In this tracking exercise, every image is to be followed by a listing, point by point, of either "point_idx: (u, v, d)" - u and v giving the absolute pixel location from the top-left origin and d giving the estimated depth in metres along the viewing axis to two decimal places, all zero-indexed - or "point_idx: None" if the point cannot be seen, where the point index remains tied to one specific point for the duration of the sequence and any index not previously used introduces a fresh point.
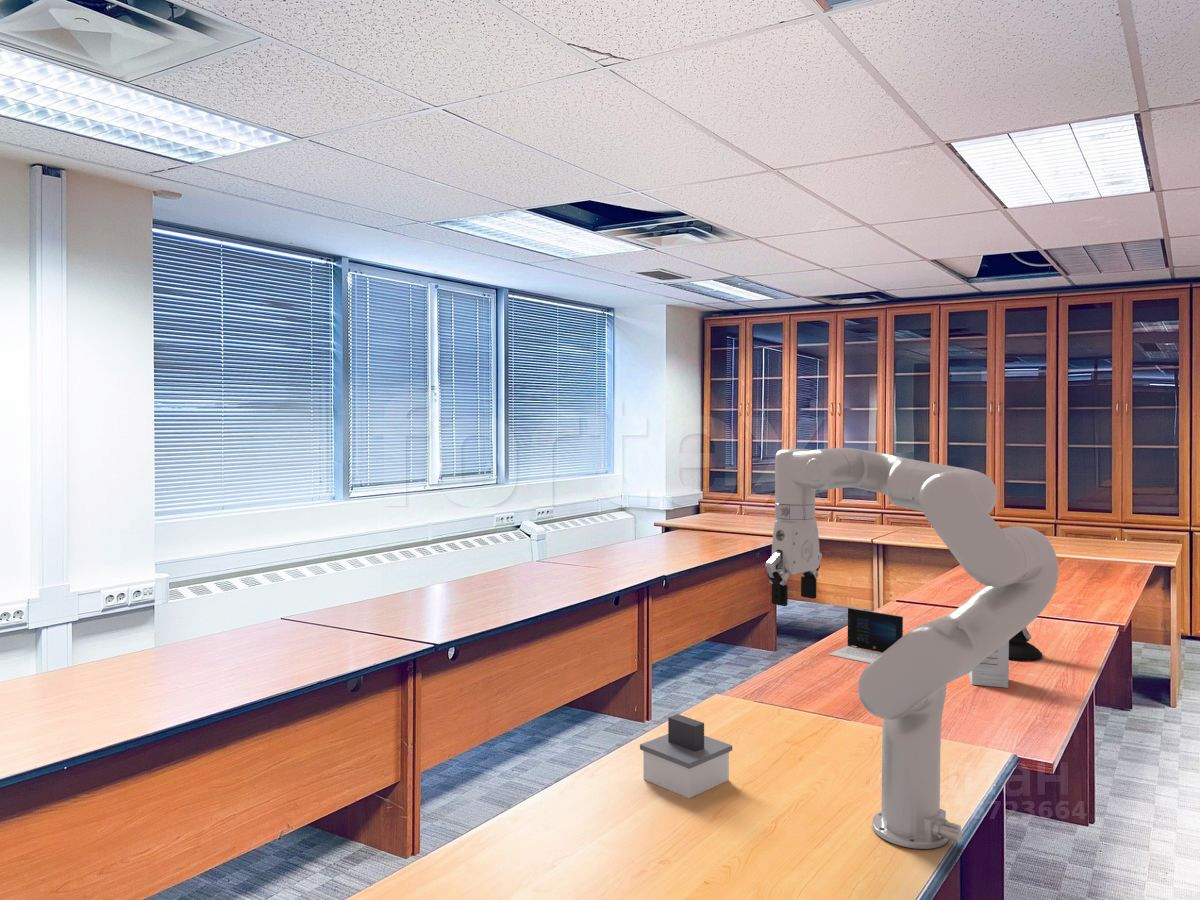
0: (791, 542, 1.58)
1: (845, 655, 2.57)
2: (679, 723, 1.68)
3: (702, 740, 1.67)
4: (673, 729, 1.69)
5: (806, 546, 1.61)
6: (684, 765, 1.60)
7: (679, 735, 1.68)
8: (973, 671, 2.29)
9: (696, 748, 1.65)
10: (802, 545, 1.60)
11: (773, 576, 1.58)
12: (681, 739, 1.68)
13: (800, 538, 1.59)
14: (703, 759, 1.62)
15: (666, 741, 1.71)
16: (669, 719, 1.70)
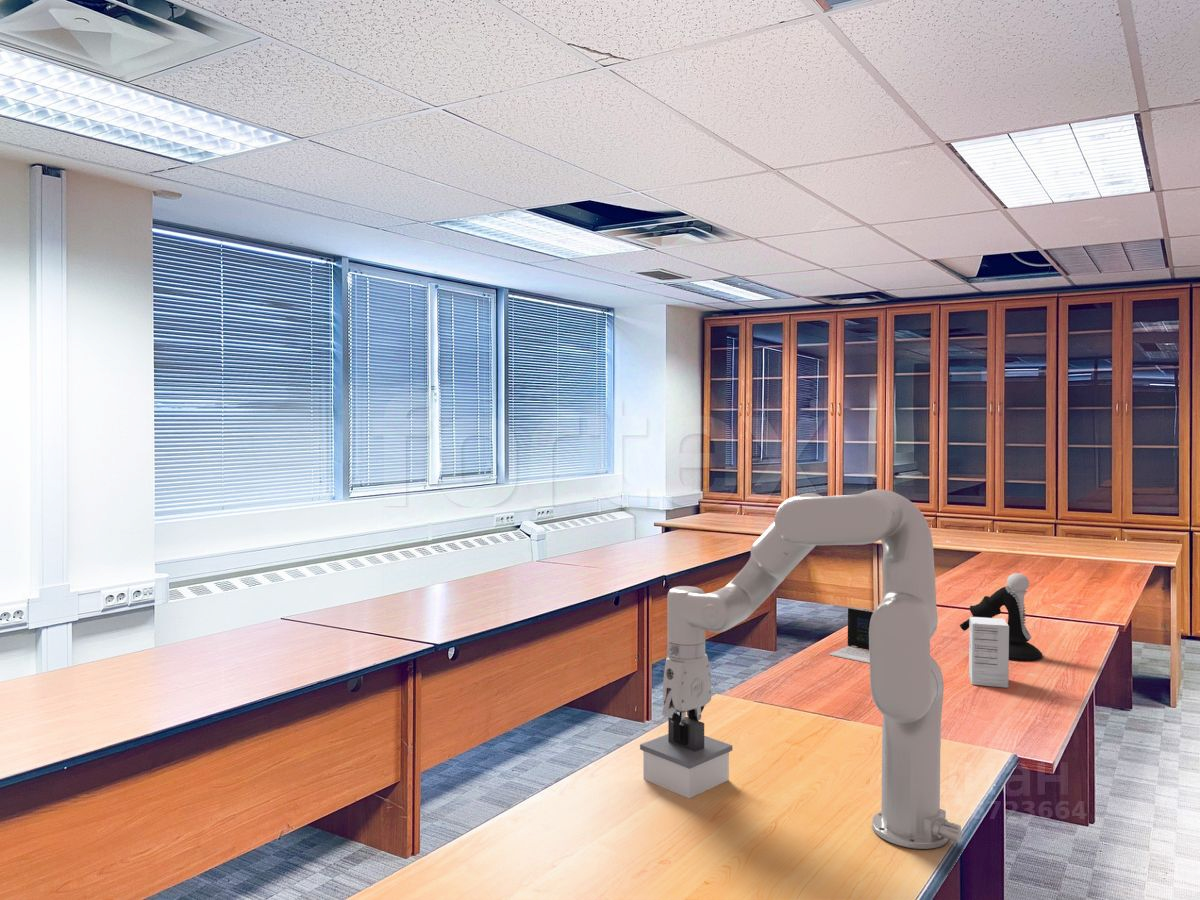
0: (679, 682, 1.63)
1: (845, 655, 2.57)
2: None
3: (702, 740, 1.67)
4: None
5: (696, 683, 1.66)
6: (684, 765, 1.60)
7: None
8: (973, 671, 2.29)
9: (696, 748, 1.65)
10: (691, 683, 1.65)
11: (673, 718, 1.65)
12: None
13: (689, 677, 1.65)
14: (703, 759, 1.62)
15: (666, 741, 1.70)
16: (669, 719, 1.70)
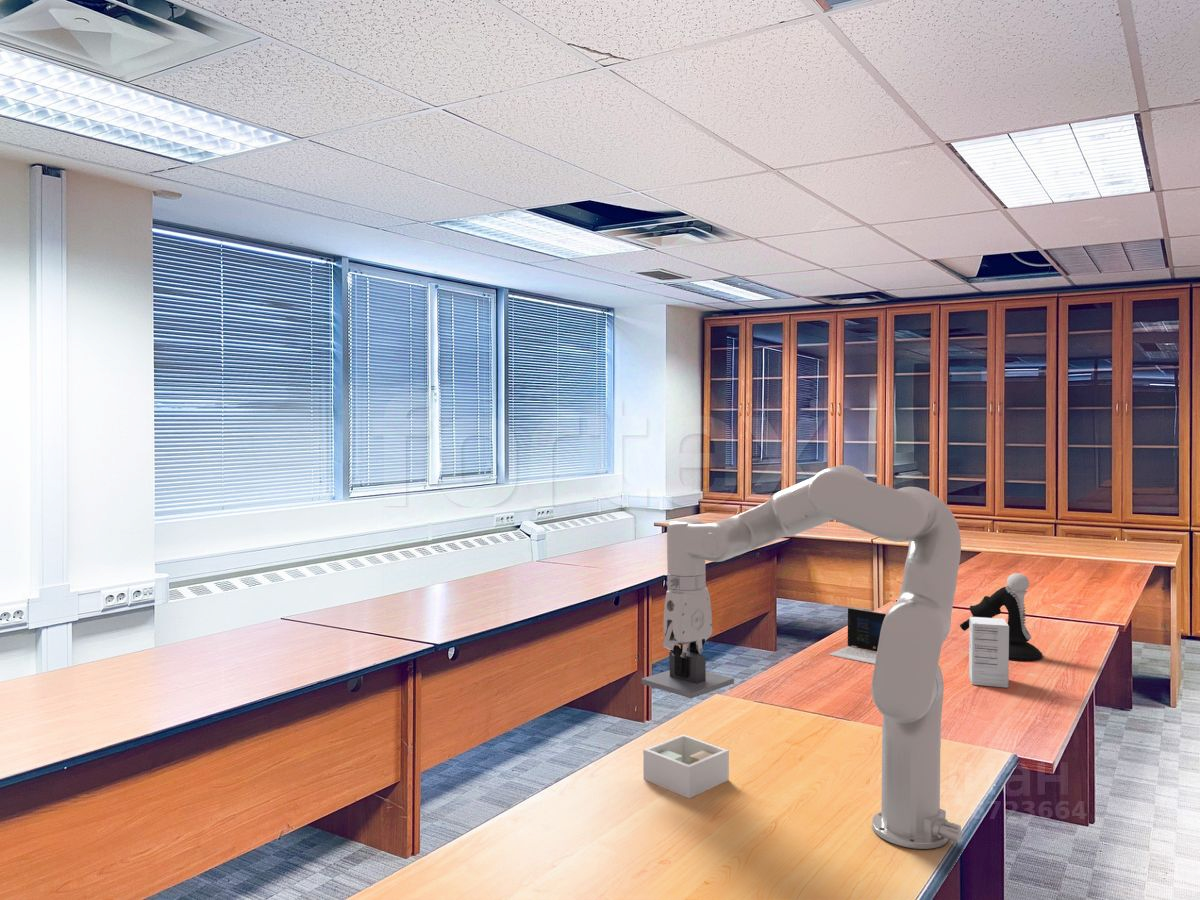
0: (680, 613, 1.63)
1: (845, 655, 2.57)
2: None
3: (703, 673, 1.66)
4: (674, 663, 1.69)
5: (696, 615, 1.66)
6: (686, 695, 1.60)
7: None
8: (973, 671, 2.29)
9: (697, 680, 1.65)
10: (692, 614, 1.65)
11: (674, 650, 1.64)
12: None
13: (690, 608, 1.64)
14: (705, 690, 1.62)
15: (667, 676, 1.70)
16: (670, 653, 1.69)
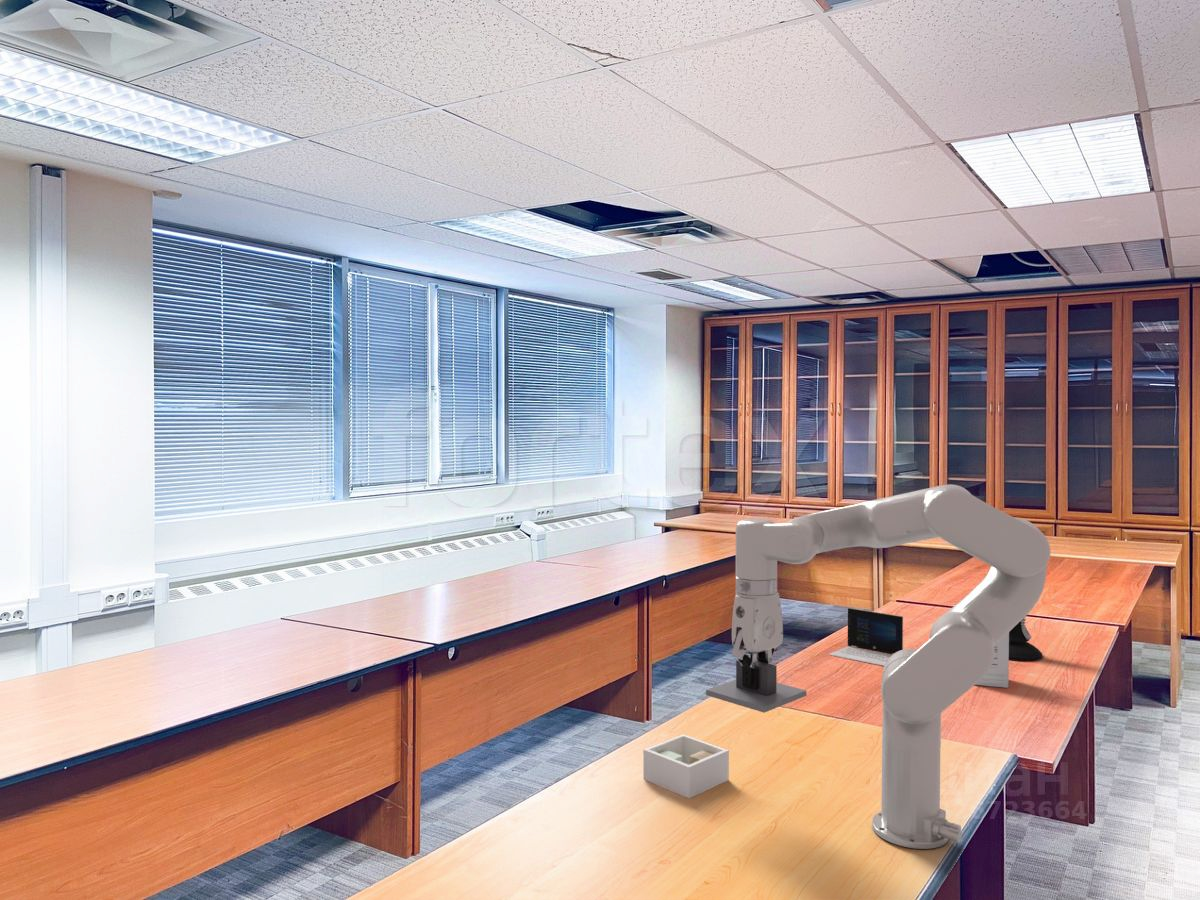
0: (751, 620, 1.50)
1: (845, 655, 2.57)
2: None
3: (774, 684, 1.54)
4: None
5: (767, 623, 1.53)
6: (758, 709, 1.47)
7: None
8: None
9: (768, 692, 1.53)
10: (763, 622, 1.52)
11: (743, 659, 1.52)
12: None
13: (761, 615, 1.52)
14: (777, 703, 1.49)
15: (734, 687, 1.58)
16: (737, 663, 1.57)
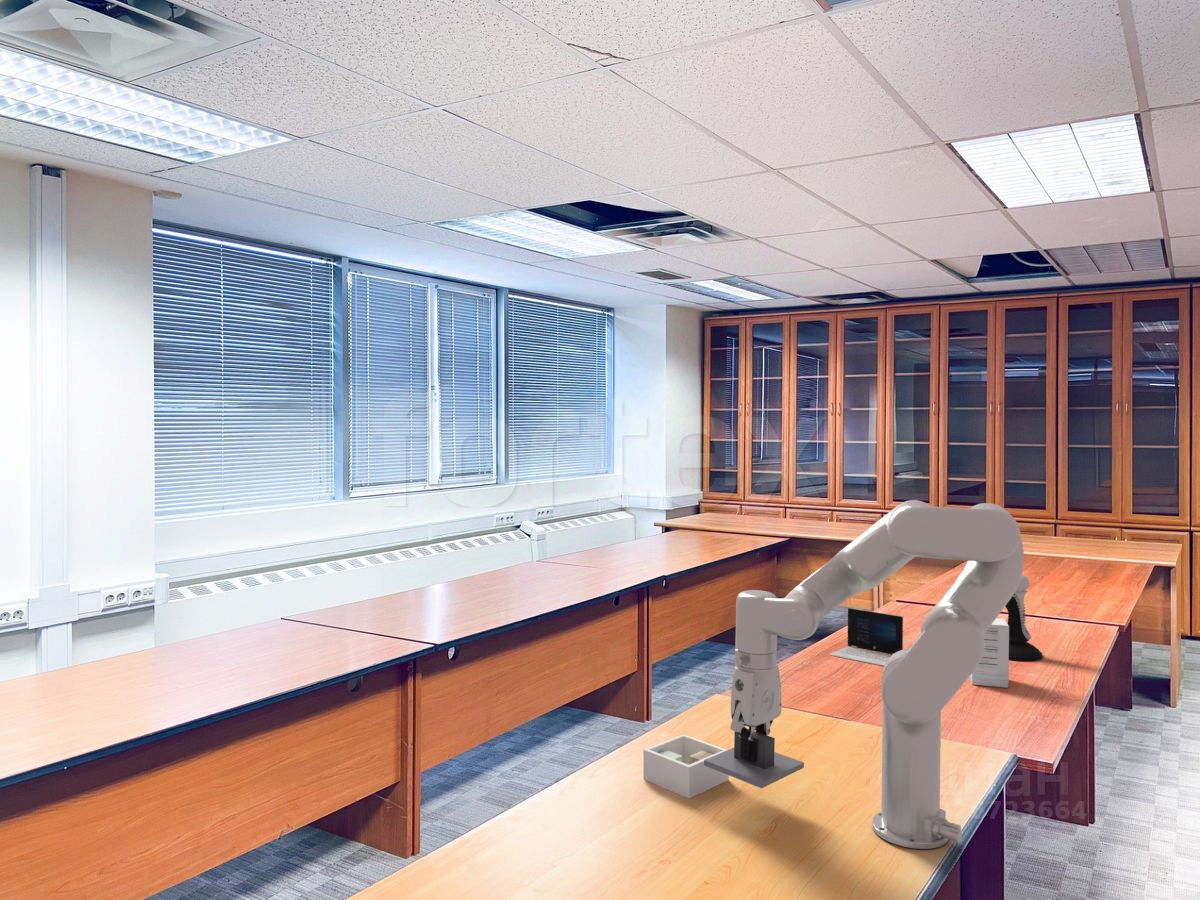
0: (750, 694, 1.51)
1: (845, 655, 2.57)
2: None
3: (772, 757, 1.54)
4: (740, 744, 1.57)
5: (766, 695, 1.54)
6: (755, 784, 1.48)
7: None
8: (973, 671, 2.29)
9: (766, 765, 1.53)
10: (762, 695, 1.53)
11: (741, 732, 1.53)
12: None
13: (760, 689, 1.52)
14: (775, 778, 1.50)
15: (732, 757, 1.58)
16: (735, 733, 1.57)
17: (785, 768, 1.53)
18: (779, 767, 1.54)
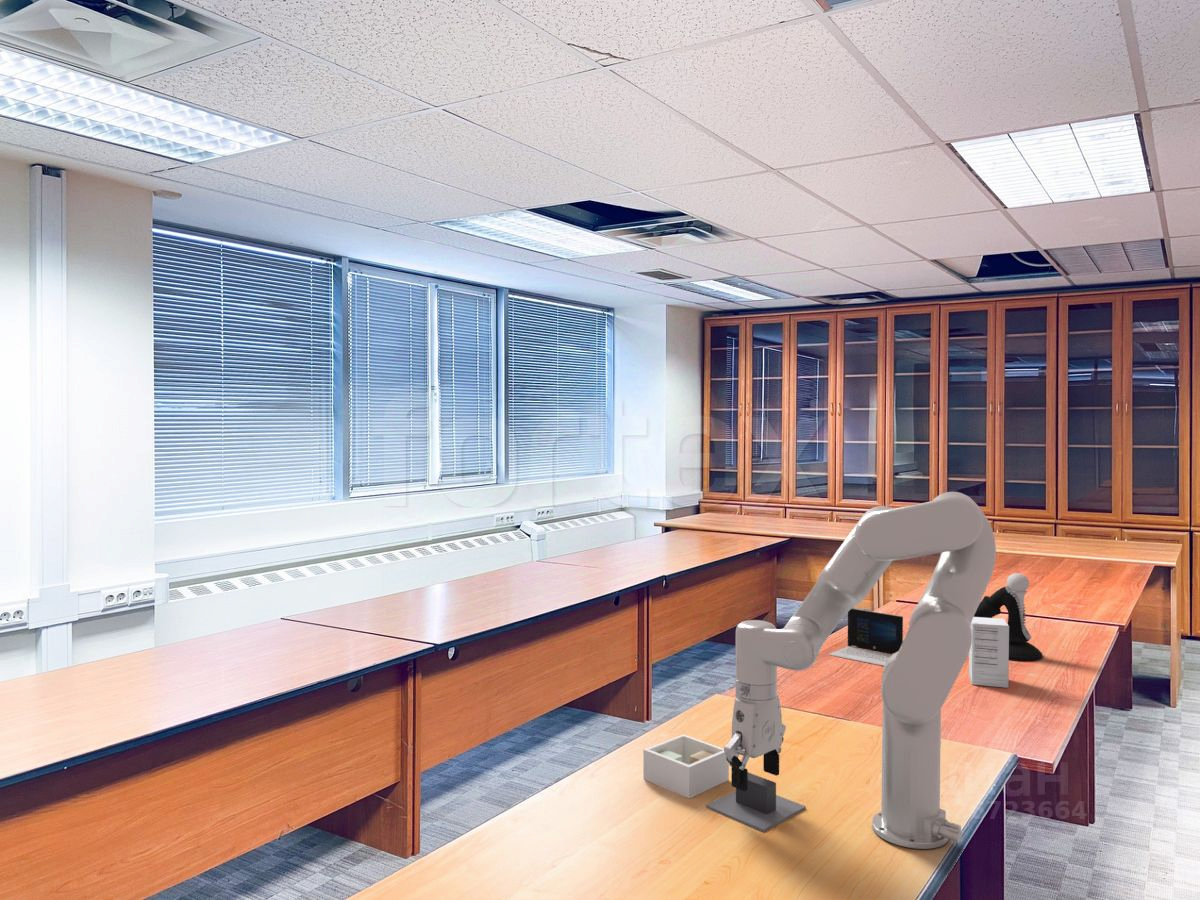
0: (751, 725, 1.51)
1: (845, 655, 2.57)
2: (749, 782, 1.56)
3: (773, 801, 1.54)
4: None
5: (767, 726, 1.54)
6: None
7: (749, 795, 1.56)
8: (973, 671, 2.29)
9: (768, 810, 1.53)
10: (763, 726, 1.53)
11: (732, 761, 1.51)
12: (750, 800, 1.56)
13: (761, 719, 1.52)
14: (777, 824, 1.50)
15: (733, 801, 1.58)
16: None
17: (787, 813, 1.53)
18: (781, 812, 1.54)
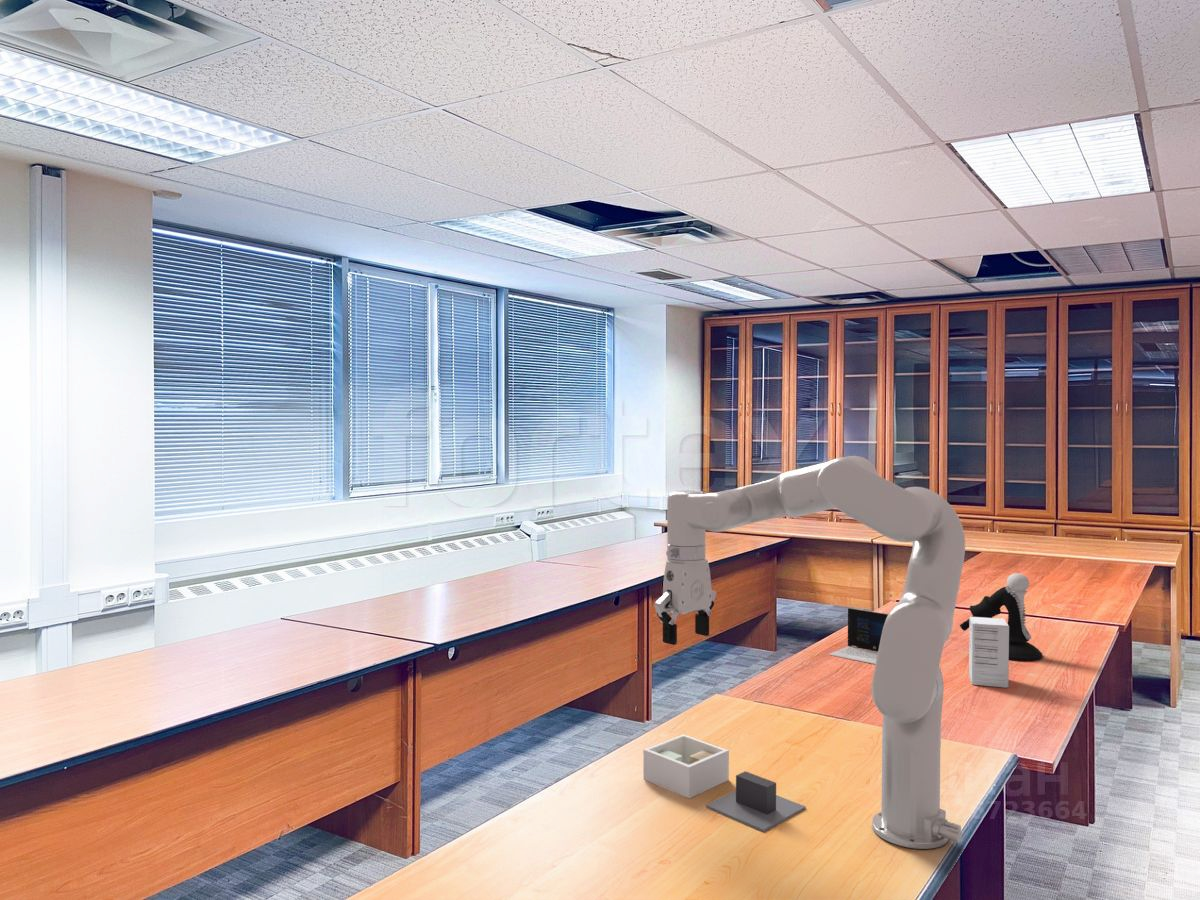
0: (679, 583, 1.63)
1: (845, 655, 2.57)
2: (749, 782, 1.56)
3: (774, 801, 1.54)
4: (742, 788, 1.57)
5: (696, 586, 1.65)
6: None
7: (749, 795, 1.56)
8: (973, 671, 2.29)
9: (768, 810, 1.53)
10: (691, 585, 1.64)
11: (662, 616, 1.62)
12: (750, 800, 1.56)
13: (689, 579, 1.64)
14: (777, 824, 1.50)
15: (733, 801, 1.58)
16: (737, 777, 1.58)
17: (787, 813, 1.53)
18: (781, 812, 1.54)
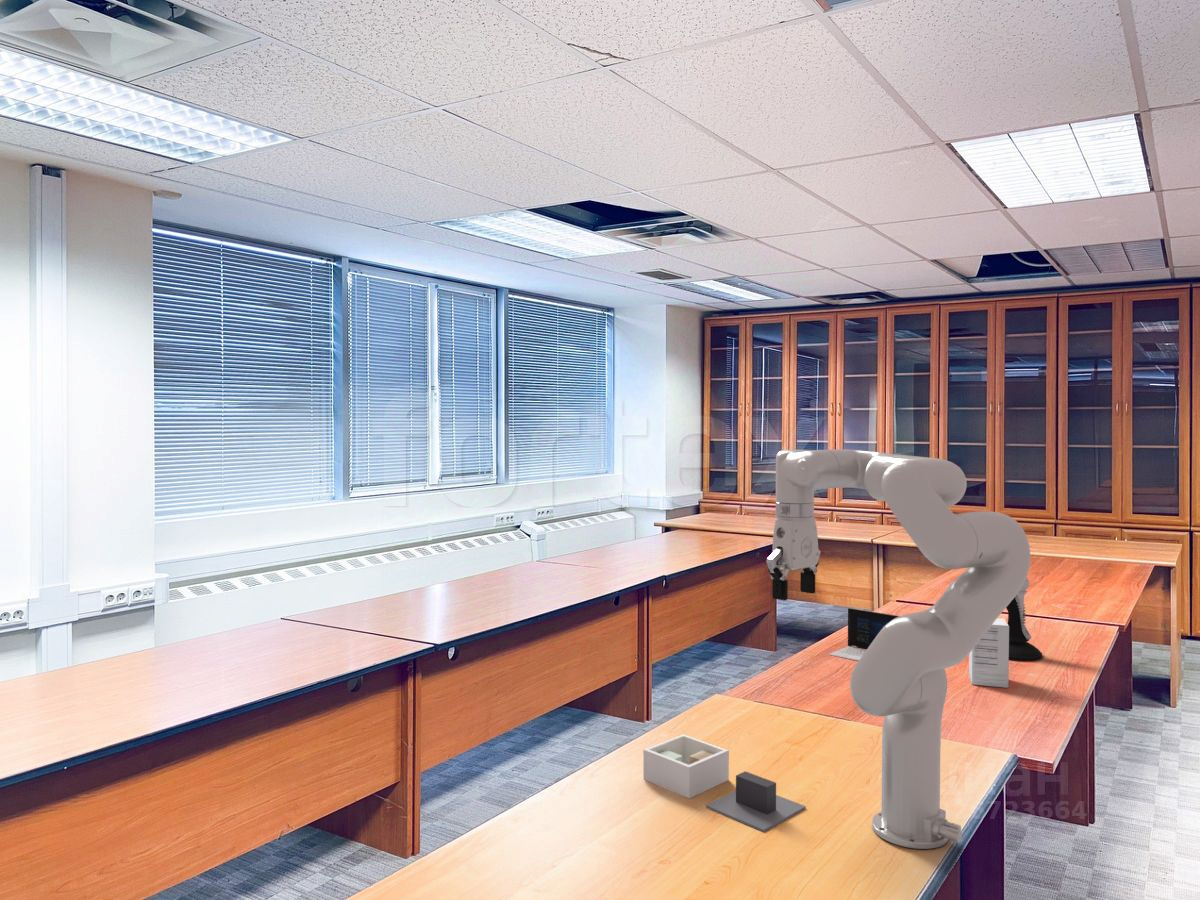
0: (791, 539, 1.65)
1: (845, 655, 2.57)
2: (749, 782, 1.56)
3: (774, 801, 1.54)
4: (741, 788, 1.57)
5: (805, 543, 1.68)
6: None
7: (749, 795, 1.56)
8: (973, 671, 2.29)
9: (768, 810, 1.53)
10: (801, 542, 1.67)
11: (774, 572, 1.65)
12: (750, 800, 1.56)
13: (800, 535, 1.66)
14: (777, 824, 1.50)
15: (733, 801, 1.58)
16: (737, 777, 1.58)
17: (787, 813, 1.53)
18: (781, 812, 1.54)
